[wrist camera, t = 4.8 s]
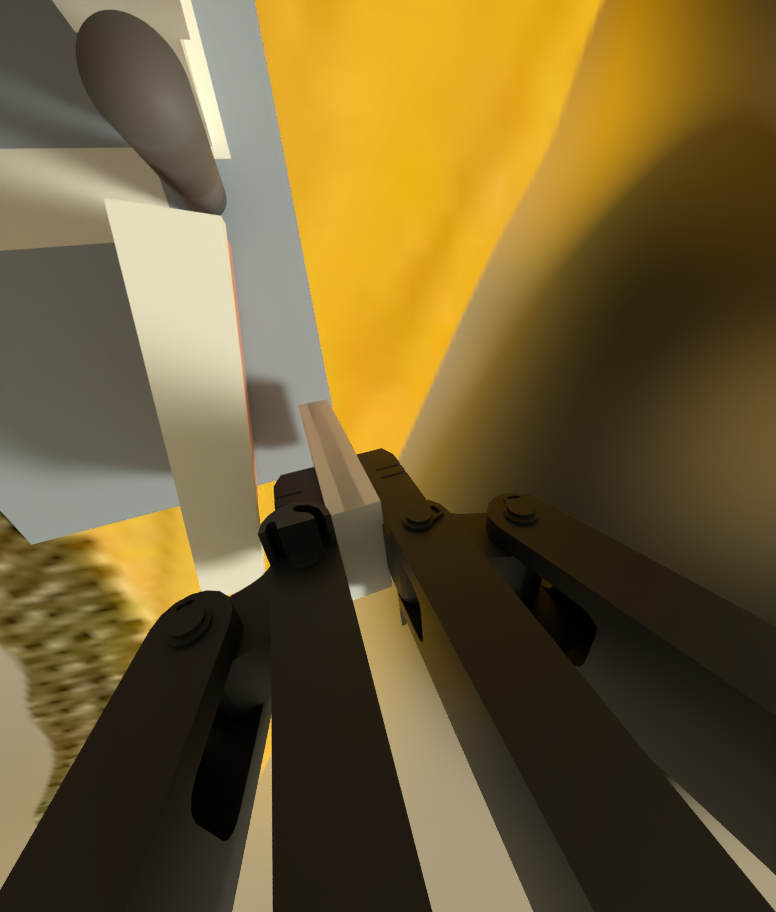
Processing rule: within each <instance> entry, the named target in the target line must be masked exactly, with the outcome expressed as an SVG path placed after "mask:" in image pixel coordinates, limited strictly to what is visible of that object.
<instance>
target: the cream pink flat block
mask: <svg viewBox="0 0 776 912" xmlns="http://www.w3.org/2000/svg"><path fill="white" fill-rule="evenodd" d="M104 202H105V206H106V210H107V214H108V218H109V223H110V227H111V231H112V235H113V239H114V243H115V247H116V251H117V255H118V259H119V263H120V267H121V271H122V275H123V279H124V283H125V287H126V291H127V295H128V299H129V303H130V307H131V311H132V315H133V319H134V323H135V327H136V331H137V335H138V339H139V343H140V347H141V351H142V355H143V359H144V363H145V367H146V371H147V375H148V379H149V383H150V387H151V391H152V395H153V399H154V403H155V407H156V411H157V415H158V419H159V423H160V427H161V431H162V435H163V439H164V443H165V447H166V451H167V455H168V459H169V463H170V467H171V471H172V475H173V479H174V483H175V487H176V491H177V495H178V499H179V503H180V507H181V511H182V515H183V519H184V523H185V527H186V531H187V535H188V539H189V543H190V547H191V551H192V555H193V559H194V563H195V567H196V571H197V575H198V580H199V584H200V588H201V592H202V591H206V590H211V591H221V592H222V593H224V594H225V595H228V594H232V593H237V592H238V591H240V590H242V589H243V588H245V587H247V586H248V585H250V584H251V583H253V582H254V581H256V580H257V579H259V578H260V577H261V576H262V575H263V574H264V573H265V563H264V553H263V546H262V544H261V541H260V539H259V537H258V531H259V528H260V518H259V509H258V493H257V471H256V462H255V453H254V444H253V435H252V426H251V417H250V408H249V399H248V390H247V381H246V372H245V363H244V354H243V345H242V336H241V327H240V318H239V309H238V300H237V291H236V282H235V273H234V264H233V255H232V246H231V244H230V242H229V241H228V239H227V232H226V224H225V222H224V220H223V218H222V216H219V215H212V214H206V213H199V212H193V211H186V210H180V209H173V208H167V207H160V206H154V205H147V204H141V203H134V202H128V201H121V200H115V199H108V198H104Z"/></svg>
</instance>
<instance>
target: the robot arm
mask: <svg viewBox="0 0 776 912" xmlns="http://www.w3.org/2000/svg"><path fill="white" fill-rule="evenodd" d="M298 407H299V411H300V415H301V418H302V422H303V426H304V430H305V434H306V438H307V442H308V446H309V450H310V453H311V457H312V461H313V465H314V467H311V468H307V469H303V470H299V471H295V472H291V473H287V474H283V475H280V477H279V479H278V480H277V482H276V484H275V485H274V499H275V511H274V512H273V513H271V514H270V515H268V516H267V518H266V519H265V520H264V521H263V522H262V523H261V525H260V528H259V531H258V537H259V539H260V541H261V544H262V546H263V549H264V551H265V553H266V556H267V558H268V561H269V563H270V565H271V566H270V567H269V568H268V570H267V571H266V572H265V573H264V574H263V575H262V576H261V577H260V578H259V579H257V580H256V581H254V582H253V583H251V584H250V585H248V586H247V587H245V588H243V589H242V590H240V591H238V592H237V593H235V594H233V595H232V596H230V597H229V596H227V595H225V594H224V593H222V592H221V591H211V590H206V591H202V592H199V593H195V594H191V595H190V596H188V597H186V598H184V599H182V600H180V601H179V602H177V603H175V604H174V605H173V606H172V607H170V608H169V609H168V610H167V611H166V612H165V613H163V614H162V615H161V616H160V618H159V619H158V620H157V621H156V623H155V624H154V625H153V627H152V628H151V629H150V631H149V633H148V634H147V636H146V638H145V639H144V641H143V643H142V645H141V646H140V648H139V650H138V652H137V653H136V655H135V657H134V659H133V660H132V662H131V664H130V666H129V667H128V669H127V671H126V672H125V674H124V676H123V678H122V679H121V681H120V683H119V685H118V686H117V688H116V690H115V692H114V693H113V695H112V697H111V699H110V700H109V702H108V704H107V705H106V707H105V709H104V711H103V712H102V714H101V716H100V718H99V719H98V721H97V723H96V725H95V726H94V728H93V730H92V732H91V733H90V735H89V737H88V738H87V740H86V742H85V744H84V745H83V747H82V749H81V751H80V752H79V754H78V756H77V758H76V759H75V761H74V763H73V765H72V766H71V768H70V770H69V771H68V773H67V775H66V777H65V778H64V780H63V782H62V784H61V785H60V787H59V789H58V791H57V792H56V794H55V796H54V798H53V799H52V801H51V803H50V804H49V806H48V808H47V810H46V811H45V813H44V815H43V817H42V818H41V820H40V822H39V824H38V825H37V827H36V829H35V831H34V833H33V834H32V836H31V837H30V839H29V841H28V843H27V845H26V846H25V848H24V850H23V851H22V853H21V855H20V857H19V859H18V860H17V862H16V864H15V866H14V867H13V869H12V871H11V872H10V874H9V876H8V877H7V879H6V881H5V883H4V884H3V886H2V888H1V890H0V912H232V909H233V904H234V899H235V894H236V889H237V884H238V879H239V874H240V869H241V864H242V859H243V854H244V849H245V844H246V839H247V834H248V829H249V824H250V819H251V814H252V809H253V804H254V799H255V794H256V789H257V784H258V779H259V774H260V769H261V764H262V759H263V754H264V749H265V744H266V739H267V734H268V729H269V724H270V719H271V714H272V858H273V912H432V909H431V905H430V901H429V897H428V893H427V890H426V886H425V882H424V878H423V874H422V870H421V866H420V862H419V858H418V855H417V850H416V847H415V843H414V839H413V835H412V831H411V827H410V823H409V819H408V815H407V812H406V807H405V804H404V800H403V796H402V792H401V788H400V784H399V780H398V776H397V772H396V768H395V765H394V761H393V757H392V753H391V749H390V745H389V741H388V737H387V733H386V729H385V725H384V722H383V718H382V714H381V710H380V706H379V702H378V698H377V694H376V690H375V687H374V683H373V678H372V675H371V671H370V667H369V663H368V659H367V655H366V651H365V647H364V643H363V639H362V636H361V632H360V628H359V624H358V620H357V616H356V612H355V608H354V604H353V600H356V599H358V598H361V597H364V596H367V595H369V594H372V593H375V592H378V591H380V590H383V589H386V588H389V587H392V580H391V576H392V579H393V581H394V583H395V586H396V588H397V592H398V599H399V607H400V615H401V621H402V625H405V624H406V623H408V626H409V628H410V630H411V633H412V635H413V637H414V639H415V642H416V644H417V646H418V649H419V651H420V653H421V655H422V658H423V660H424V662H425V665H426V667H427V669H428V671H429V674H430V676H431V678H432V681H433V683H434V685H435V687H436V689H437V692H438V694H439V697H440V699H441V701H442V704H443V706H444V708H445V710H446V712H447V715H448V717H449V719H450V722H451V724H452V726H453V728H454V731H455V733H456V735H457V738H458V740H459V742H460V745H461V747H462V749H463V751H464V754H465V756H466V758H467V761H468V763H469V765H470V767H471V770H472V772H473V774H474V777H475V779H476V781H477V783H478V786H479V788H480V790H481V793H482V795H483V797H484V799H485V802H486V804H487V806H488V808H489V811H490V813H491V816H492V818H493V820H494V822H495V825H496V827H497V829H498V831H499V834H500V836H501V838H502V841H503V843H504V845H505V847H506V850H507V852H508V854H509V857H510V859H511V861H512V864H513V866H514V868H515V870H516V873H517V875H518V877H519V880H520V882H521V884H522V886H523V889H524V891H525V893H526V895H527V898H528V900H529V902H530V905H531V907H532V909H533V911H534V912H775V911H774V909H773V908H772V907H771V906H770V904H769V903H768V902H767V901H766V900H765V898H764V897H763V896H762V895H761V893H760V892H759V891H758V890H757V889H756V888H755V886H754V885H753V884H752V882H751V881H750V880H749V879H748V878H747V876H746V875H745V874H744V873H743V871H742V870H741V869H740V868H739V867H738V865H737V864H736V863H735V862H734V860H733V859H732V858H731V857H730V855H729V854H728V853H727V852H726V851H725V849H724V848H723V847H722V846H721V845H720V843H719V842H718V841H717V840H716V838H715V837H714V836H713V835H712V834H711V832H710V831H709V830H708V829H707V827H706V826H705V825H704V824H703V822H702V821H701V820H700V819H699V818H698V816H697V815H696V814H695V813H694V811H693V810H692V809H691V808H690V807H689V805H688V804H687V803H686V802H685V800H684V799H683V798H682V797H681V796H680V794H679V793H678V792H677V791H676V789H675V788H674V787H673V786H672V785H671V783H670V782H669V781H668V780H667V778H666V777H665V776H664V775H663V774H662V772H661V771H660V770H659V769H658V767H657V766H656V765H655V764H654V762H655V763H657V764H658V765H659V766H660V767H661V768H662V769H663V770H664V771H665V772H666V773H667V774H668V775H669V776H670V777H672V778H673V779H674V780H675V781H676V782H677V783H678V784H679V785H680V786H681V787H682V788H683V789H684V790H685V791H686V792H687V793H689V794H690V795H691V796H692V797H693V798H694V799H695V800H696V801H697V802H698V803H699V804H700V805H701V806H702V807H704V808H705V809H706V810H707V811H708V812H709V813H710V814H711V815H712V816H713V817H714V818H715V819H716V820H717V821H719V822H720V823H721V824H722V825H723V826H724V827H725V828H726V829H727V830H728V831H729V832H730V833H731V834H733V836H735V837H736V838H737V839H738V840H739V841H740V842H741V843H742V844H743V845H744V846H746V848H747V849H749V850H750V851H751V852H752V853H753V854H754V855H755V856H756V857H757V858H758V859H759V860H760V861H761V862H763V864H764V865H766V866H767V867H768V868H769V869H770V870H771V871H772V872H773V873H774V874H775V875H776V626H774V625H772V624H770V623H769V622H767V621H765V620H763V619H761V618H759V617H757V616H756V615H754V614H752V613H750V612H748V611H746V610H744V609H743V608H741V607H739V606H737V605H735V604H733V603H731V602H730V601H728V600H726V599H724V598H722V597H720V596H719V595H717V594H715V593H713V592H711V591H709V590H707V589H706V588H704V587H702V586H700V585H698V584H696V583H694V582H693V581H691V580H689V579H687V578H685V577H683V576H681V575H680V574H678V573H676V572H674V571H672V570H670V569H668V568H667V567H665V566H663V565H661V564H659V563H657V562H656V561H654V560H652V559H650V558H648V557H646V556H644V555H642V554H640V553H639V552H637V551H635V550H633V549H631V548H630V547H628V546H626V545H624V544H622V543H620V542H618V541H617V540H615V539H613V538H611V537H609V536H607V535H605V534H603V533H602V532H600V531H598V530H596V529H594V528H592V527H590V526H589V525H587V524H585V523H583V522H581V521H580V520H578V519H576V518H574V517H572V516H570V515H568V514H567V513H565V512H563V511H561V510H559V509H557V508H555V507H554V506H552V505H550V504H548V503H546V502H544V501H542V500H541V499H538V498H536V497H533V496H531V495H527V494H521V493H506V494H502V495H499V496H497V497H495V498H494V499H493V500H492V501H490V502H489V505H488V509H487V513H476V514H475V513H474V514H453V513H449V512H448V511H447V509H445V508H444V507H443V506H442V505H440V504H439V503H436V502H433V501H430V500H426V498H425V497H424V496H423V494H422V493H421V492H420V490H419V489H418V487H417V486H416V485H415V483H414V482H413V481H412V479H411V478H410V476H409V475H408V474H407V473H406V472H405V470H404V468H403V467H402V466H401V465H400V463H399V461H398V460H397V459H396V457H395V456H394V455H393V454H392V453H390V452H388V451H386V450H384V449H382V448H381V449H377V450H373V451H369V452H365V453H361V454H357V455H356V453H355V451H354V449H353V447H352V445H351V443H350V442H349V440H348V438H347V436H346V434H345V432H344V430H343V428H342V426H341V424H340V422H339V421H338V419H337V417H336V415H335V413H334V411H333V409H332V407H331V405H330V403H329V401H328V399H326V400H322V401H317V402H312V403H307V404H303V405H298ZM406 621H407V622H406ZM649 757H650V758H651V759H652V760H653V761H654V762H653V761H652V760H651V759H650V758H649Z"/></svg>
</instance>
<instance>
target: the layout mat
mask: <svg viewBox="0 0 776 912" xmlns="http://www.w3.org/2000/svg"><path fill="white" fill-rule="evenodd" d="M180 1H181V5H182V9H183V13H184V17H185V20H186V24H187V28H188V32H189V36H190V39H191V40H184V43H185V46H186V50H187V54H188V57H189V61H190V65H191V68H192V72H193V76H194V79H195V83H196V87H197V90H198V94H199V98H200V101H201V105H202V109H203V112H204V116H205V120H206V123H207V127H208V131H209V134H210V138H211V142H212V145H213V147H211V150H212V153H213V156H214V159H215V162H216V165H217V168H218V171H219V174H220V177H221V181H222V184H223V187H224V190H225V193H226V199H227V203H226V208H225V210H224V212H223V213H222V214H221V215H220V216H222V218H223V220H224V222H225V224H226V232H227V239H228V241H229V242H230V244H231V246H232V255H233V264H234V273H235V282H236V291H237V300H238V309H239V318H240V327H241V336H242V345H243V354H244V363H245V372H246V381H247V390H248V399H249V408H250V417H251V426H252V435H253V444H254V453H255V462H256V471H257V485H260V484H264V483H268V482H272V481H276V480H278V479H279V477H280V475H283V474H287V473H291V472H295V471H299V470H303V469H307V468H311V467H314V465H313V461H312V457H311V453H310V450H309V446H308V442H307V438H306V434H305V430H304V426H303V422H302V418H301V415H300V411H299V407H298V405H303V404H307V403H312V402H317V401H322V400H326V399H328V401H329V403H330V405H331V407H332V403H331V398H330V393H329V388H328V382H327V377H326V372H325V367H324V362H323V356H322V351H321V346H320V341H319V335H318V330H317V325H316V320H315V314H314V309H313V304H312V299H311V294H310V288H309V283H308V278H307V273H306V267H305V262H304V257H303V252H302V247H301V241H300V236H299V231H298V226H297V220H296V215H295V210H294V205H293V199H292V194H291V189H290V184H289V179H288V173H287V168H286V163H285V158H284V152H283V147H282V142H281V137H280V131H279V126H278V121H277V116H276V111H275V105H274V100H273V95H272V90H271V84H270V79H269V74H268V69H267V63H266V58H265V53H264V48H263V43H262V37H261V32H260V27H259V22H258V16H257V11H256V6H255V1H254V0H180ZM77 35H78V32H75V31H74V30H73V28H72V27H71V26H70V24H69V23H68V22H67V20H66V19H65V17H64V16H63V15H62V13H61V12H60V11H59V9H58V8H57V6H56V5H55V4H54V2H53V1H52V0H0V511H1V512H2V513H3V514H4V515H5V516H6V517H7V518H8V520H9V521H10V522H11V523H12V524H13V525H14V526H15V527H16V528H17V529H18V531H19V532H20V533H21V534H22V535H23V536H24V537H25V538H26V539H27V540H28V541H29V543H30V544H31V545H32V544H36V543H39V542H43V541H47V540H51V539H55V538H58V537H62V536H66V535H70V534H74V533H77V532H81V531H85V530H89V529H93V528H97V527H100V526H104V525H108V524H112V523H116V522H119V521H123V520H127V519H131V518H135V517H138V516H142V515H146V514H150V513H154V512H157V511H161V510H165V509H169V508H173V507H177V506H180V503H179V499H178V495H177V491H176V487H175V483H174V479H173V475H172V471H171V467H170V463H169V459H168V455H167V451H166V447H165V443H164V439H163V435H162V431H161V427H160V423H159V419H158V415H157V411H156V407H155V403H154V399H153V395H152V391H151V387H150V383H149V379H148V375H147V371H146V367H145V363H144V359H143V355H142V351H141V347H140V343H139V339H138V335H137V331H136V327H135V323H134V319H133V315H132V311H131V307H130V303H129V299H128V295H127V291H126V287H125V283H124V279H123V275H122V271H121V267H120V263H119V259H118V255H117V251H116V247H115V243H114V239H113V235H112V231H111V227H110V223H109V218H108V214H107V210H106V206H105V202H104V198H108V199H115V200H121V201H128V202H134V203H141V204H147V205H154V206H160V207H167V208H173V209H180V210H186V211H191V210H190V209H189V208H188V207H187V206H186V205H185V204H184V203H183V202H182V200H181V199H180V198H179V197H178V196H177V195H176V194H175V193H174V192H173V191H172V190H171V189H170V188H169V187H168V186H167V184H166V183H165V182H164V181H163V180H162V179H161V178H160V177H159V176H158V175H157V174H156V173H155V172H154V171H153V170H152V168H151V167H150V166H149V165H148V164H147V163H146V162H145V161H144V160H143V159H142V158H141V157H140V156H139V155H138V154H137V152H136V151H135V150H134V149H133V148H132V147H131V146H130V145H129V144H128V143H127V142H126V141H125V140H124V139H123V138H122V136H121V135H120V134H119V133H118V132H117V131H116V130H115V129H114V128H113V127H112V126H111V125H110V124H109V123H108V122H107V121H106V119H105V118H104V117H103V116H102V115H101V114H100V112H99V111H98V110H97V108H96V107H95V105H94V104H93V102H92V101H91V99H90V97H89V95H88V94H87V92H86V90H85V87H84V85H83V83H82V80H81V77H80V74H79V71H78V67H77V61H76V39H77Z"/></svg>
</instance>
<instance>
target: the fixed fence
mask: <svg viewBox="0 0 776 912" xmlns="http://www.w3.org/2000/svg"><path fill="white" fill-rule="evenodd" d="M52 1H53V2H54V4H55V5H56V6H57V8H58V9H59V11H60V12H61V13H62V15H63V16H64V17H65V19H66V20H67V22H68V23H69V24H70V26H71V27H72V28H73V30H74V31H75V32H78V35H77V39H76V61H77V67H78V71H79V74H80V77H81V80H82V83H83V85H84V87H85V90H86V92H87V94H88V95H89V97H90V99H91V101H92V102H93V104H94V105H95V107H96V108H97V110H98V111H99V112H100V114H101V115H102V116H103V117H104V118H105V119H106V121H107V122H108V123H109V124H110V125H111V126H112V127H113V128H114V129H115V130H116V131H117V132H118V133H119V134H120V135H121V136H122V138H123V139H124V140H125V141H126V142H127V143H128V144H129V145H130V146H131V147H132V148H133V149H134V150H135V151H136V152H137V154H138V155H139V156H140V157H141V158H142V159H143V160H144V161H145V162H146V163H147V164H148V165H149V166H150V167H151V168H152V170H153V171H154V172H155V173H156V174H157V175H158V176H159V177H160V178H161V179H162V180H163V181H164V182H165V183H166V184H167V186H168V187H169V188H170V189H171V190H172V191H173V192H174V193H175V194H176V195H177V196H178V197H179V198H180V199H181V200H182V202H183V203H184V204H185V205H186V206H187V207H188V208H189V209H190V210H191V211H193V212H199V213H206V214H212V215H219V216H220V215H221V214H222V213H223V212H224V210H225V208H226V203H227V199H226V193H225V190H224V187H223V184H222V181H221V177H220V174H219V171H218V168H217V165H216V162H215V159H214V156H213V153H212V150H211V147H213V145H212V142H211V138H210V134H209V131H208V127H207V123H206V120H205V116H204V112H203V109H202V105H201V101H200V98H199V94H198V90H197V87H196V83H195V79H194V76H193V72H192V68H191V65H190V61H189V57H188V54H187V50H186V46H185V43H184V40H191V39H190V36H189V32H188V28H187V24H186V20H185V17H184V13H183V9H182V5H181V1H180V0H52Z"/></svg>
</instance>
